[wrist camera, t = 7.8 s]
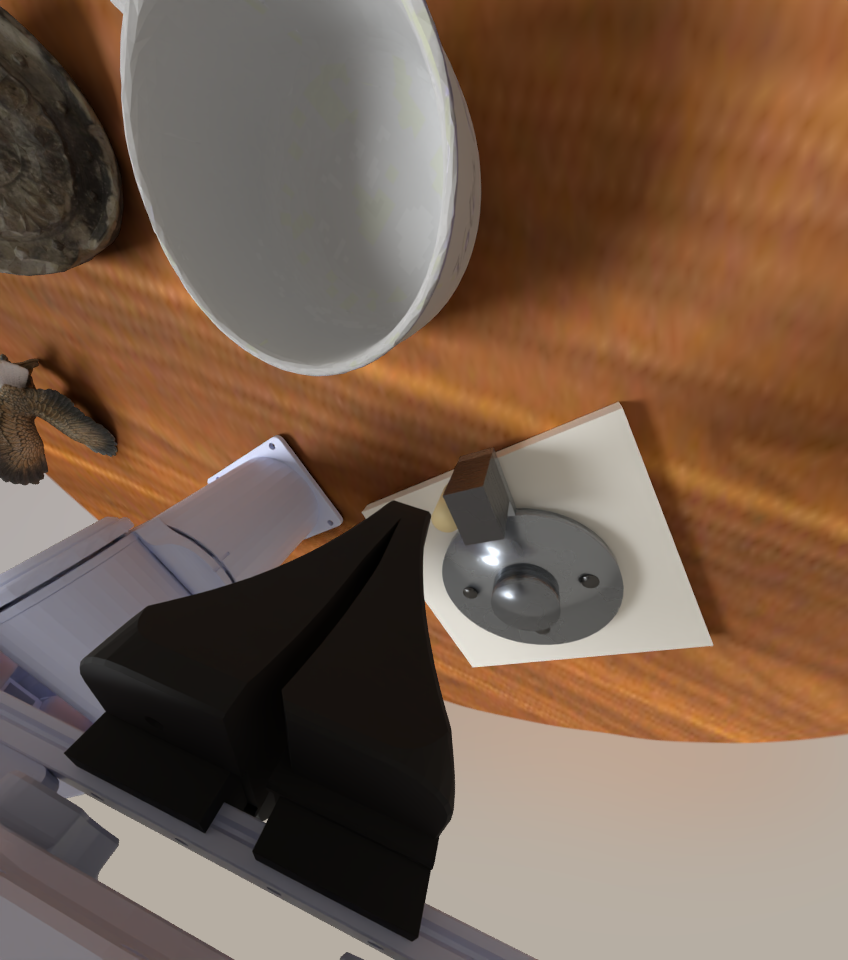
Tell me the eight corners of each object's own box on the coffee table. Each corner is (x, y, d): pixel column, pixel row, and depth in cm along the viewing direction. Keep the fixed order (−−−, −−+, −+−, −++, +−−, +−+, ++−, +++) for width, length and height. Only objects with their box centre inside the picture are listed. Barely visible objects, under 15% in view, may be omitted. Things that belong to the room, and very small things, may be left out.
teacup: (531, 275, 16) (525, 271, 9) (354, 378, 21) (265, 424, 14) (374, -159, 11) (131, -807, 5) (196, 106, 16) (-46, -17, 9)
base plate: (474, 656, 30) (466, 703, 27) (367, 504, 25) (341, 538, 22) (707, 631, 22) (736, 693, 19) (618, 401, 17) (637, 430, 14)
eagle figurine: (-6, 386, 29) (54, 483, 31) (-123, 371, 22) (-37, 497, 24) (86, 355, 30) (140, 450, 32) (1, 330, 23) (76, 454, 25)
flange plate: (636, 631, 22) (654, 699, 19) (476, 637, 27) (466, 692, 23) (581, 422, 17) (593, 460, 13) (394, 475, 22) (365, 513, 18)
